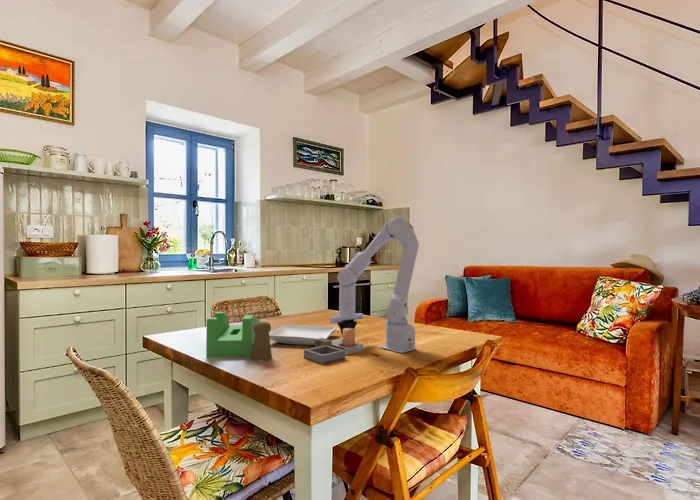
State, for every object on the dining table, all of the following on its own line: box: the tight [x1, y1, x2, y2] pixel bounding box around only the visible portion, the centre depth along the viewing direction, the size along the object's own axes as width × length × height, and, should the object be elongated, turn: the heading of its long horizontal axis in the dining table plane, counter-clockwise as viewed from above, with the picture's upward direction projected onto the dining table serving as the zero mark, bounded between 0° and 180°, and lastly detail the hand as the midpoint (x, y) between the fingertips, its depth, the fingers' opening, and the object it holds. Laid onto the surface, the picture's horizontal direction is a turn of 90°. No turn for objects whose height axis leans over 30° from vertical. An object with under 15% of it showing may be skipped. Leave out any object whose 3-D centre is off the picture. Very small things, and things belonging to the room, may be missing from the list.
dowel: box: [342, 328, 356, 347], centre depth 132 cm, size 4×4×7 cm
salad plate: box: [269, 324, 337, 346], centre depth 147 cm, size 21×21×3 cm
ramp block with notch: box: [205, 311, 261, 358], centre depth 135 cm, size 24×13×12 cm, turn 7°
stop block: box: [314, 338, 333, 348], centre depth 132 cm, size 5×3×4 cm, turn 44°
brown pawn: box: [251, 321, 273, 362], centre depth 122 cm, size 6×6×11 cm
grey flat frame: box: [331, 338, 365, 356], centre depth 134 cm, size 12×8×2 cm
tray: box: [303, 345, 346, 365], centre depth 123 cm, size 9×9×2 cm
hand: (346, 341), depth 141 cm, fingers closed
